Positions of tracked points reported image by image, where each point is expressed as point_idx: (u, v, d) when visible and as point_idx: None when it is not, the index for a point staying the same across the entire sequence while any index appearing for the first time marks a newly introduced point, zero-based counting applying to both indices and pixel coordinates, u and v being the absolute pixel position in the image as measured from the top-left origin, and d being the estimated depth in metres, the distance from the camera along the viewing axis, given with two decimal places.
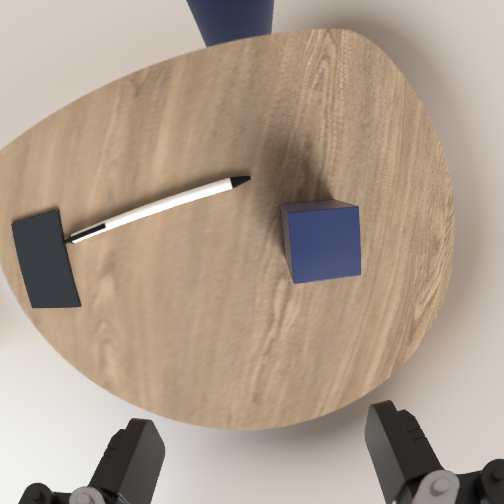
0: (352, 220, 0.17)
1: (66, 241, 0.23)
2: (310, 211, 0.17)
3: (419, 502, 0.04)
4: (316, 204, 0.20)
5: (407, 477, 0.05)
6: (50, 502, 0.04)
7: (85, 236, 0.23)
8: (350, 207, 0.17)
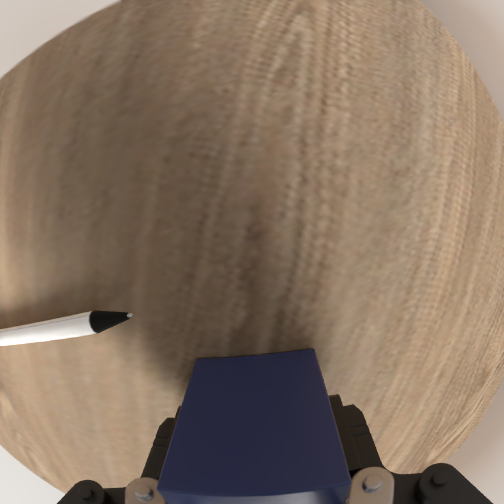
0: (328, 501, 0.05)
1: None
2: (212, 496, 0.05)
3: (348, 496, 0.05)
4: (258, 406, 0.08)
5: None
6: (103, 499, 0.05)
7: None
8: (327, 486, 0.05)
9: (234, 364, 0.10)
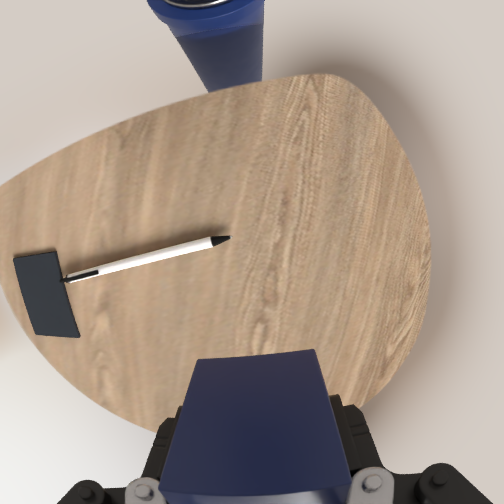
0: (328, 500, 0.05)
1: (63, 280, 0.25)
2: (213, 495, 0.05)
3: None
4: (258, 406, 0.08)
5: None
6: (103, 499, 0.05)
7: (80, 279, 0.25)
8: (328, 486, 0.05)
9: (235, 364, 0.10)
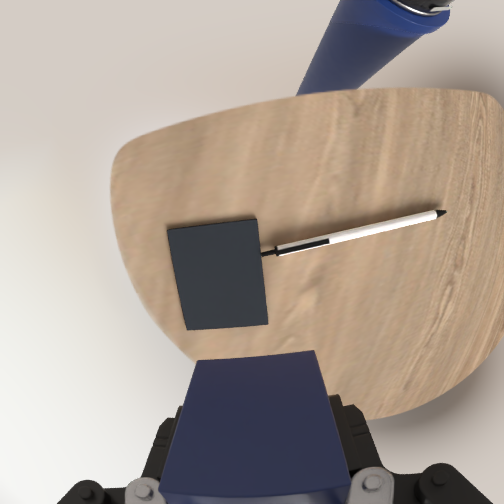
0: (328, 502, 0.05)
1: (268, 253, 0.25)
2: (213, 496, 0.05)
3: (348, 496, 0.05)
4: (258, 407, 0.08)
5: None
6: (103, 499, 0.05)
7: (300, 250, 0.24)
8: (328, 487, 0.05)
9: (235, 365, 0.10)
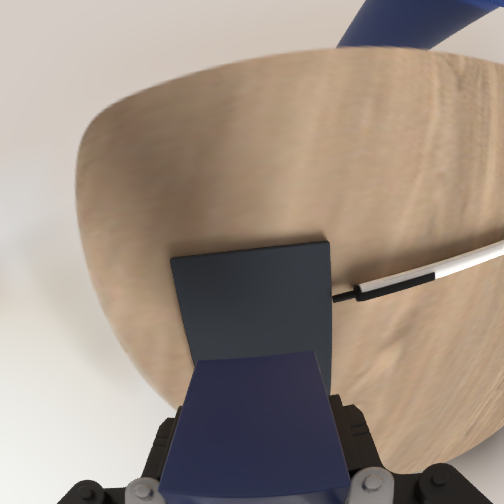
0: (327, 501, 0.05)
1: (346, 298, 0.14)
2: (213, 497, 0.05)
3: (348, 496, 0.05)
4: (258, 408, 0.08)
5: None
6: (103, 499, 0.05)
7: None
8: (327, 487, 0.05)
9: (234, 366, 0.10)
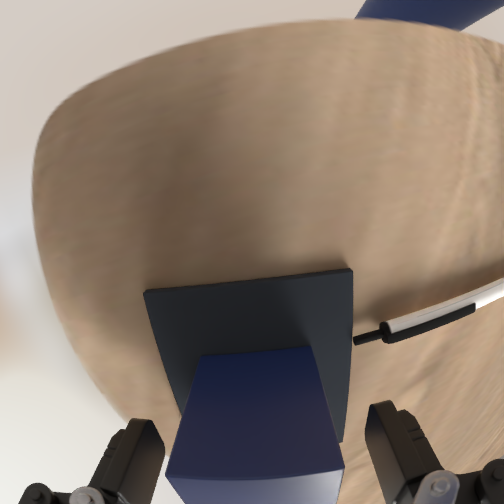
0: (323, 486, 0.05)
1: (370, 339, 0.10)
2: (217, 480, 0.05)
3: (419, 502, 0.04)
4: (258, 398, 0.08)
5: (407, 477, 0.05)
6: (50, 502, 0.04)
7: None
8: (323, 470, 0.05)
9: (236, 360, 0.11)
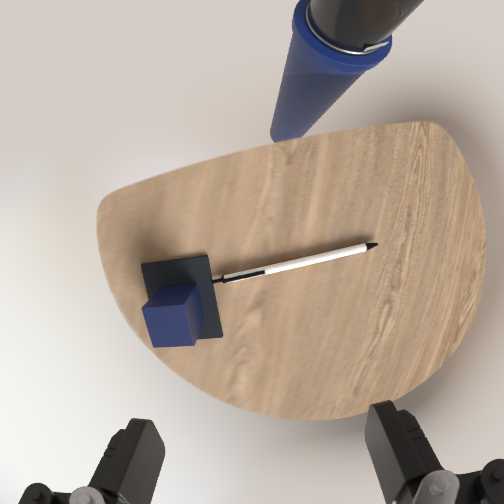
0: (181, 313, 0.26)
1: (217, 281, 0.31)
2: (154, 307, 0.26)
3: (419, 502, 0.04)
4: (172, 294, 0.29)
5: (407, 477, 0.05)
6: (50, 502, 0.04)
7: (241, 279, 0.31)
8: (179, 304, 0.26)
9: (170, 287, 0.31)
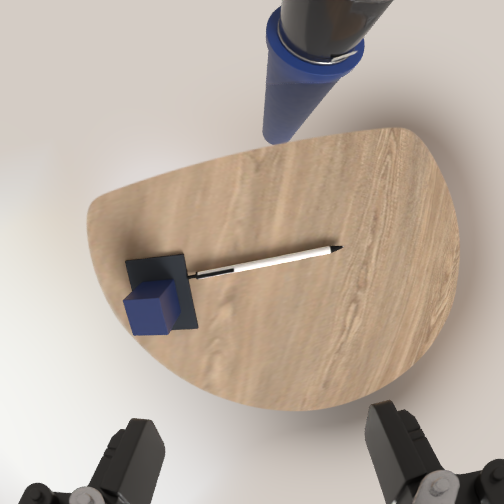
0: (156, 305, 0.29)
1: (191, 277, 0.34)
2: (133, 299, 0.29)
3: (419, 502, 0.04)
4: (151, 288, 0.32)
5: (407, 477, 0.05)
6: (50, 502, 0.04)
7: (213, 275, 0.34)
8: (154, 298, 0.29)
9: (151, 282, 0.34)
